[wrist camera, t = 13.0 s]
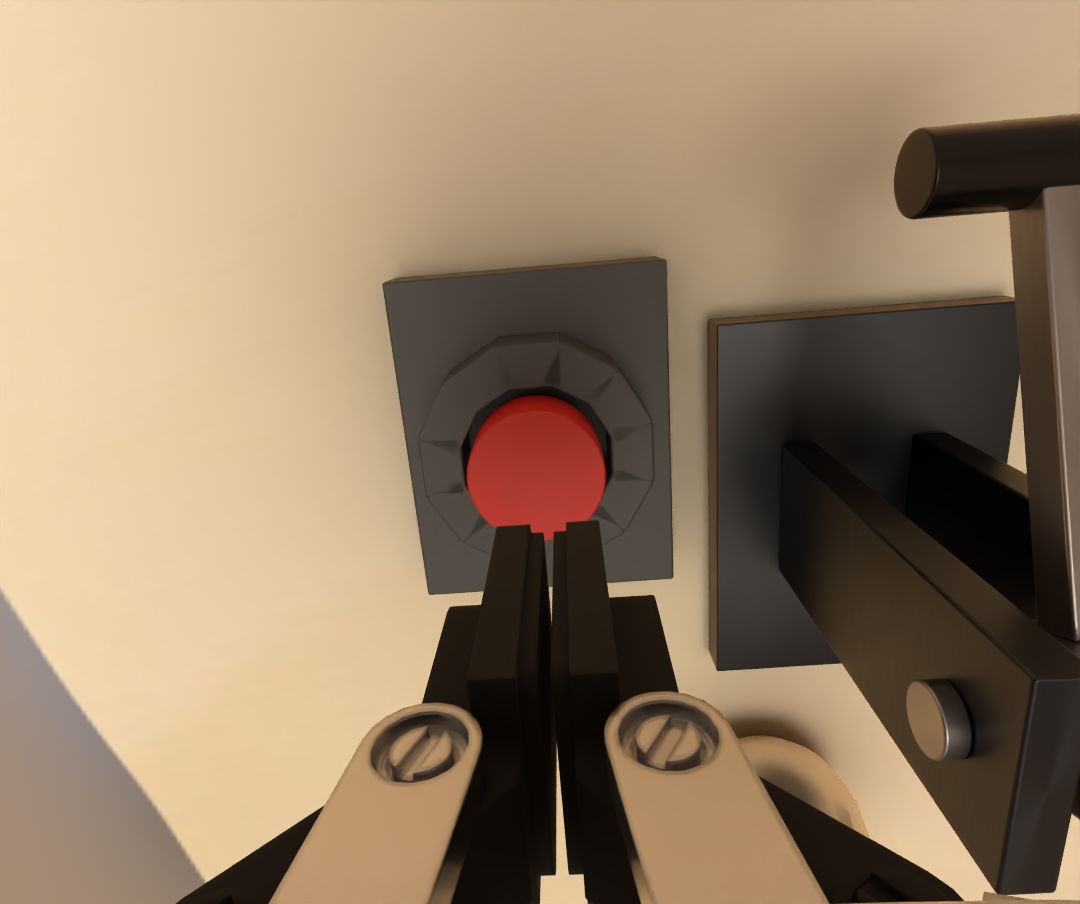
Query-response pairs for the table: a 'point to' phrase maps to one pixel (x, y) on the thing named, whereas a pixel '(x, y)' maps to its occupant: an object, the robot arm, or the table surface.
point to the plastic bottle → (803, 777)
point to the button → (536, 465)
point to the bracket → (898, 553)
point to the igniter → (536, 369)
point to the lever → (1026, 312)
